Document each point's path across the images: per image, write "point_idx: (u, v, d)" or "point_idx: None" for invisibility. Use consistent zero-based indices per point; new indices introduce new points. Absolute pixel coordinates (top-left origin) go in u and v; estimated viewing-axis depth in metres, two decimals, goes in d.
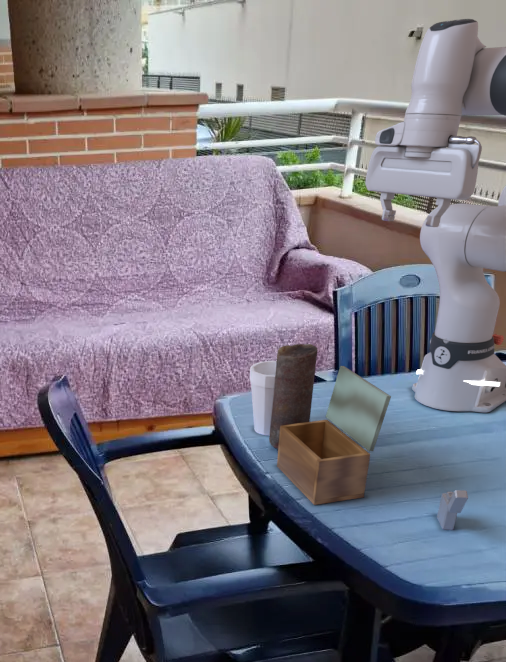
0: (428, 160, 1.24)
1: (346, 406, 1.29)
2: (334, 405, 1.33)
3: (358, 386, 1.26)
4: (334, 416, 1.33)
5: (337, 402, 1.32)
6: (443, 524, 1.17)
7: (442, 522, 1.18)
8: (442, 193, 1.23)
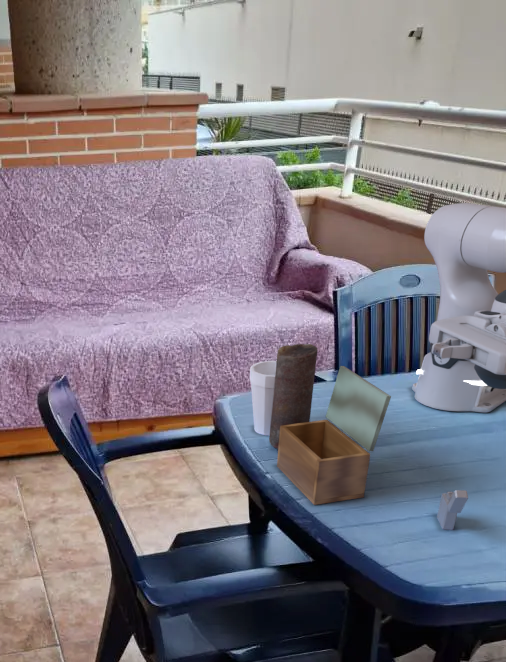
0: (502, 337, 1.23)
1: (346, 406, 1.29)
2: (334, 405, 1.33)
3: (358, 386, 1.26)
4: (334, 416, 1.33)
5: (337, 402, 1.32)
6: (443, 524, 1.17)
7: (442, 522, 1.18)
8: (493, 347, 1.19)
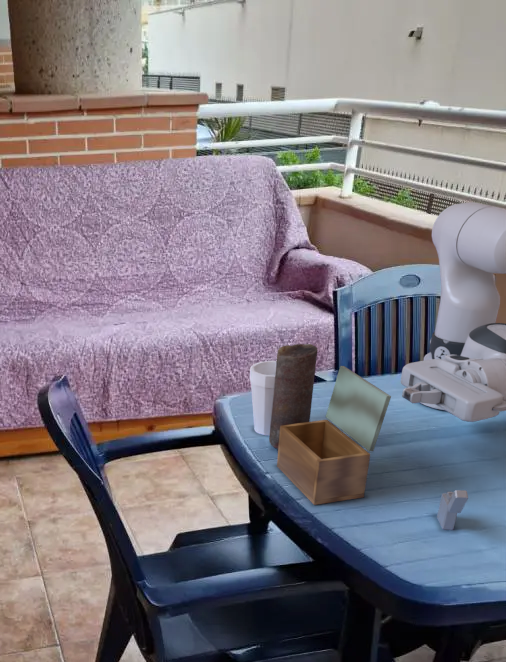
0: (470, 383, 1.26)
1: (346, 406, 1.29)
2: (334, 405, 1.33)
3: (358, 386, 1.26)
4: (334, 416, 1.33)
5: (337, 402, 1.32)
6: (443, 524, 1.17)
7: (442, 522, 1.18)
8: (460, 394, 1.22)
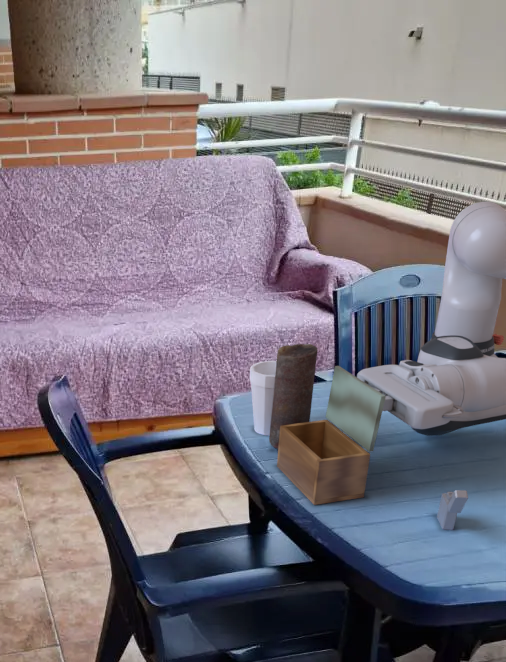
0: (422, 389, 1.25)
1: (344, 406, 1.29)
2: (332, 405, 1.33)
3: (353, 386, 1.26)
4: (333, 416, 1.33)
5: (335, 402, 1.32)
6: (443, 524, 1.17)
7: (442, 522, 1.18)
8: (411, 402, 1.21)
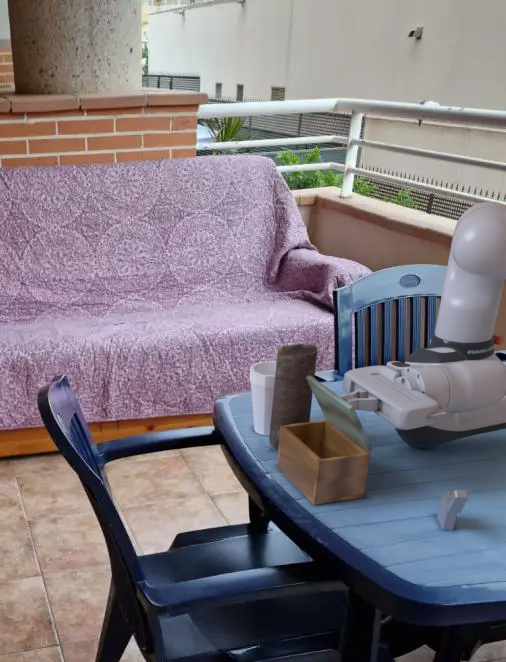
0: (408, 390, 1.25)
1: (331, 412, 1.29)
2: (324, 409, 1.33)
3: (327, 397, 1.25)
4: (330, 419, 1.33)
5: (324, 407, 1.32)
6: (443, 524, 1.17)
7: (442, 522, 1.18)
8: (395, 402, 1.21)
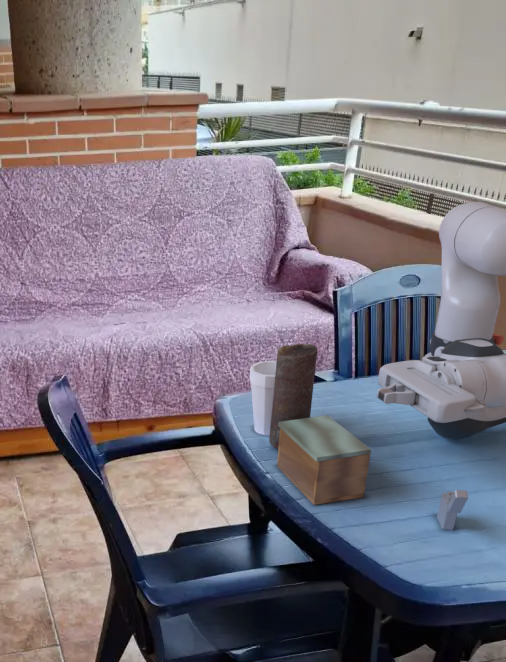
0: (444, 384, 1.26)
1: None
2: None
3: None
4: None
5: None
6: (443, 524, 1.17)
7: (442, 522, 1.18)
8: (433, 395, 1.22)
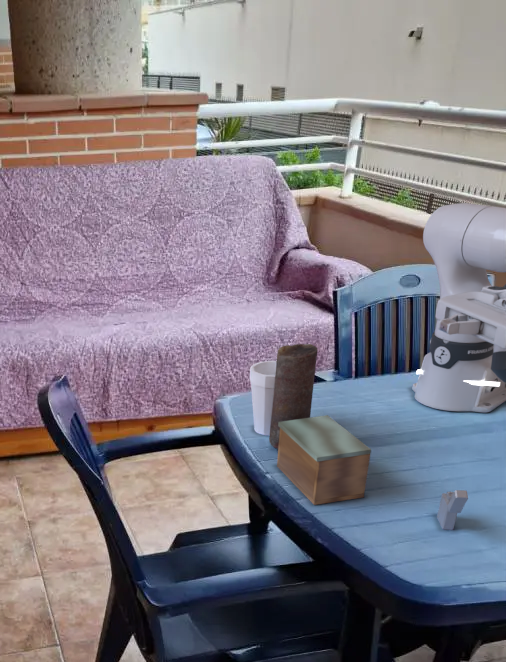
0: None
1: None
2: None
3: None
4: None
5: None
6: (443, 524, 1.17)
7: (442, 522, 1.18)
8: (501, 322, 1.16)
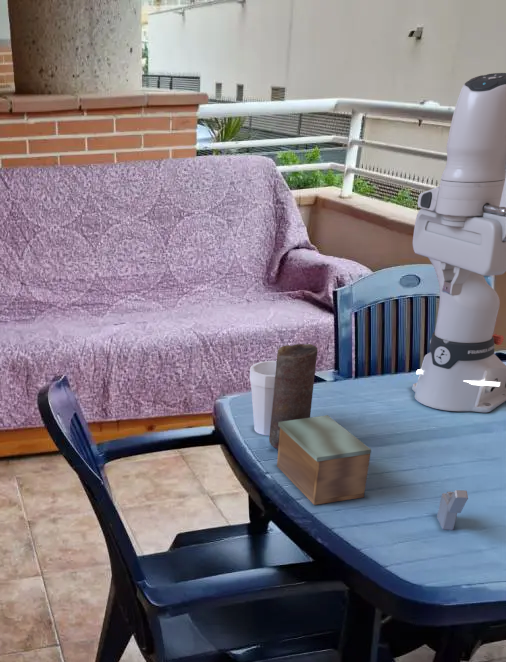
0: (462, 229, 1.12)
1: None
2: None
3: None
4: None
5: None
6: (443, 524, 1.17)
7: (442, 522, 1.18)
8: (473, 267, 1.11)
